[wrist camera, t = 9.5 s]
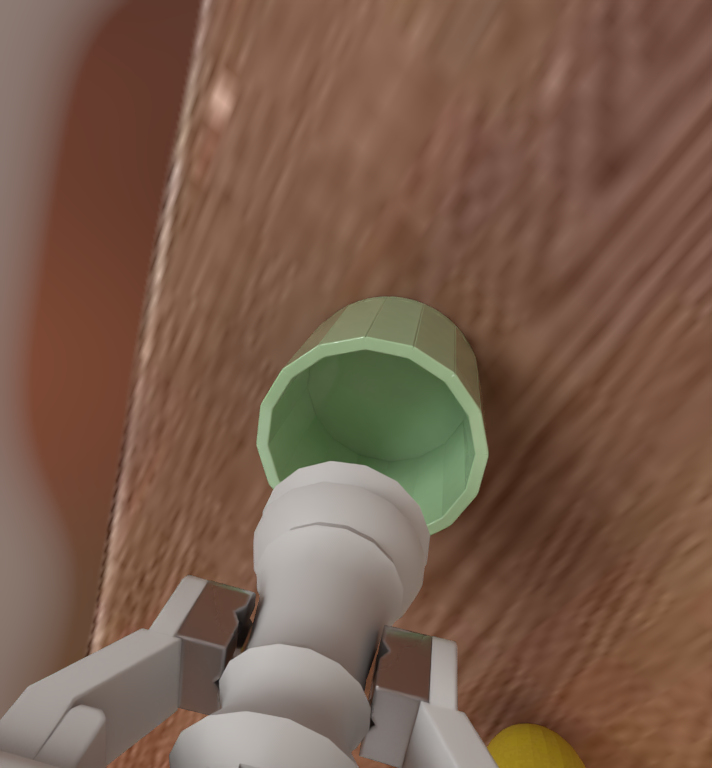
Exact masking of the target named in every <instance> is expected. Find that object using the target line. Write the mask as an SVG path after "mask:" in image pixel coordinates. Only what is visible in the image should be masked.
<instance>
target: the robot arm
mask: <svg viewBox="0 0 712 768" xmlns="http://www.w3.org/2000/svg"><path fill="white" fill-rule="evenodd" d="M255 597H256V594H255V593H254V592H251V591H247V590H244V589H240V588H236V587H233V586H229V585H226V584H222V583H218V582H215V581H209V580H205V579H202V578H198V577H195V576H191V575H187V576H186V577H185V578H183V579H182V581H181V582H180V584H179V585H178V587H177V588H176V590H175V591H174V593H173V594H172V596H171V597H170V599H169V600H168V602H167V603H166V605H165V606H164V608H163V609H162V611H161V612H160V614H159V615H158V617H157V618H156V620H155V621H154V623H153V624H152V626H151V627H150V629H149V630H146V629H140V630H138V631H136V632H134V633H132V634H130V635H128V636H126V637H124V638H122V639H120V640H118V641H116V642H114V643H113V644H111V645H109V646H107V647H105V648H103V649H101V650H99V651H97V652H95V653H93V654H91V655H89V656H87V657H85V658H83V659H81V660H79V661H77V662H75V663H74V664H71V665H69V666H68V667H66V668H64V669H62V670H60V671H58V672H56V673H54V674H52V675H50V676H48V677H46V678H44V679H42V680H40V681H38V682H36V683H34V684H32V685H31V686H28V687H27V689H26V690H25V691H24V692H23V693H22V695H21V696H20V697H19V698H18V699H17V701H16V702H15V703H14V704H13V705H12V707H11V708H10V709H9V710H8V711H7V713H6V714H5V715H4V716H3V718H2V719H1V720H0V768H106V766H107V765H108V764H110V763H111V762H112V761H113V760H115V759H116V758H117V757H118V756H120V755H121V754H122V753H124V752H125V751H126V750H127V749H129V748H130V747H131V746H133V745H134V744H135V743H136V742H138V741H139V740H140V739H141V738H143V737H144V736H145V735H147V734H148V733H149V732H150V731H152V730H153V729H154V728H155V727H157V726H158V725H159V724H161V723H162V722H163V721H164V720H166V719H167V718H168V717H169V716H171V715H172V714H173V713H175V712H176V711H177V708H182V709H186V710H190V711H194V712H198V713H203V714H207V715H211V714H213V713H215V712H216V711H218V710H220V709H221V708H222V706H221V704H220V689H219V680H220V678H221V676H222V674H223V672H224V670H225V669H226V667H227V665H228V663H229V661H231V660H232V659H234V658H235V657H237V656H238V655H240V654H242V653H243V652H244V650H245V648H246V646H247V643H248V641H249V638H250V634H251V630H252V625H253V623H252V621H251V620H250V616H251V614H252V612H253V610H254V607H255ZM368 702H369V705H370V707H371V714H370V726H369V731H368V733H367V734H366V736H365V737H364V738H363V740H362V741H361V747H360V753H359V756H362V757H365V758H368V759H371V760H375V761H378V762H381V763H385V764H388V765H391V766H394V767H398V768H499V767H498V765H497V763H496V762H495V760H494V759H493V757H492V755H491V754H490V752H489V751H488V749H487V747H486V746H485V744H484V743H483V741H482V739H481V738H480V736H479V735H478V733H477V731H476V730H475V728H474V727H473V725H472V723H471V722H470V720H469V719H468V717H467V715H466V714H465V713H464V712H460V711H458V689H457V644H456V642H455V641H451V640H447V639H442V638H438V637H434V636H432V637H431V636H429V635H425V634H421V633H417V632H412V631H408V630H404V629H400V628H396V627H392V626H387V625H384V628H383V632H382V636H381V640H380V646H379V652H378V655H377V657H376V662H375V667H374V671H373V676H372V680H371V686H370V692H369V697H368Z"/></svg>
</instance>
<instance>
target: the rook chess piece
mask: <svg viewBox="0 0 712 768" xmlns="http://www.w3.org/2000/svg"><path fill="white" fill-rule="evenodd" d="M429 540H430V533H429V530H428V528H427V525H426V522H425V519H424V516H423V514H422V511H421V508H420V506H419V505H418V504H417V502H416V501H415V500H414V499H413V498H412V497H411V496H410V495H409V494H408V493H407V492H406V491H405V489H404V488H403V487H402V486H401V485H400V484H399V483H398V482H397V481H395V480H393V479H391V478H389V477H388V476H386V475H384V474H382V473H380V472H378V471H376V470H374V469H372V468H370V467H368V466H366V465H359V464H351V463H343V462H335V461H328V462H324V463H320V464H316V465H312V466H308V467H304V468H300V469H298V470H296V471H295V472H294V473H292V474H291V475H290V476H288V477H287V478H286V479H285V480H283V481H282V482H281V483H279V484H278V485H277V486H275V488H274V490H273V492H272V494H271V496H270V498H269V500H268V502H267V504H266V506H265V508H264V510H263V516H262V518H261V520H260V522H259V524H258V526H257V528H256V530H255V533H254V571H255V573H256V575H257V590H258V592H259V595H260V599H259V602H258V606H257V610H256V614H255V618H254V622H253V626H252V630H251V634H250V638H249V641H248V643H247V646H246V648H245V650H244V652H243V653H242V654H240V655H238V656H237V657H235V658H234V659H232V660H231V661H229V663H228V665H227V667H226V669H225V670H224V672H223V674H222V676H221V678H220V680H219V689H220V704H221V706H222V708H221V709H220V710H218V711H216V712H215V713H213V714H211V715H209V716H207V717H205V718H204V719H202V720H200V721H199V722H197V723H195V724H193V725H192V726H190V727H188V728H187V729H185V730H183V731H182V732H181V733H180V735H179V737H178V739H177V741H176V743H175V745H174V747H173V749H172V751H171V752H170V754H169V761H170V768H359V767H358V765H357V763H356V761H355V759H354V758H353V756H352V754H351V752H352V751H353V750H354V749H356V748H357V746H358V745H359V744H360V742H361V741H362V740H363V738H364V737H365V736H366V734H367V733H368V731H369V726H370V714H371V707H370V705H369V702H368V700H367V698H366V696H365V693H364V690H365V684H366V679H367V676H368V673H369V670H370V667H371V665H372V662H373V659H374V656H375V653H376V650H377V647H378V644H379V642H380V639H381V636H382V632H383V628H384V625H387V626H392V625H393V624H394V622H395V621H396V620H398V619H400V618H401V617H402V616H403V615H404V613H405V612H406V610H407V609H408V607H409V606H410V604H411V603H412V602H413V600H414V599H415V597H416V596H417V594H418V592H419V590H420V589H421V587H422V584H423V575H424V567H425V565H426V564H427V557H428V549H429Z"/></svg>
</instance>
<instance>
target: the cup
mask: <svg viewBox="0 0 712 768" xmlns="http://www.w3.org/2000/svg"><path fill="white" fill-rule="evenodd" d="M256 444H257V448H258V452H259V455H260V458H261V461H262V464H263V468H264V471H265V474H266V477H267V480H268V483H269V485H270V486H271V487H272V488H273V490H274V488H275V486H277V485H278V484H279V483H281V482H282V481H283V480H285V479H286V478H287V477H288V476H290V475H291V474H292V473H294V472H295V471H296V470H298V469H300V468H304V467H308V466H312V465H316V464H320V463H324V462H328V461H335V462H343V463H351V464H359V465H366V466H368V467H370V468H372V469H374V470H376V471H378V472H380V473H382V474H384V475H386V476H388V477H389V478H391V479H393V480H395V481H397V482H398V483H399V484H400V485H401V486H402V487H403V488H404V489H405V491H406V492H407V493H408V494H409V495H410V496H411V497H412V498H413V499H414V500H415V501H416V502H417V504H418V505H419V506H420V508H421V511H422V514H423V516H424V519H425V522H426V525H427V528H428V530H429V533H430V536H431V535H433V534H435V533H437V532H439V531H441V530H443V529H445V528H447V527H449V526H450V525H452V524H453V522H454V521H455V520H456V519H457V518H458V517H459V516H460V514H461V513H462V512H463V511H464V510H465V509H466V508H467V506H468V505H469V504H470V503H471V502H472V501H473V499H474V498H475V497H476V496H477V494H478V492H479V489H480V485H481V482H482V478H483V475H484V471H485V467H486V464H487V460H488V457H489V450H488V441H487V433H486V424H485V415H484V407H483V398H482V390H481V384H480V378H479V371H478V366H477V360H476V357H475V355H474V353H473V351H472V348H471V346H470V345H469V343H468V341H467V339H466V338H465V336H464V335H463V334H462V332H461V331H460V330H459V328H458V327H457V326H456V325H455V324H454V323H453V322H452V321H451V320H450V319H448V318H447V317H446V316H444V315H443V314H442V313H440V312H439V311H437V310H435V309H434V308H432V307H430V306H428V305H425V304H423V303H421V302H418V301H414V300H411V299H407V298H400V297H375V298H368V299H365V300H361V301H357V302H355V303H353V304H350V305H348V306H346V307H344V308H343V309H341V310H339V311H337V312H336V313H335V314H334V315H332V316H331V317H330V318H329V319H328V320H326V321H325V322H323V323H322V324H321V325H320V326H319V327H318V328H317V329H316V330H315V332H314V333H313V334H312V335H311V336H310V337H309V339H308V340H307V341H306V342H305V343H304V344H303V346H302V347H301V348H300V349H299V350H298V351H297V353H296V354H295V355H294V356H293V357H292V358H291V360H290V361H289V362H288V363H287V364H286V365H285V367H284V368H283V369H282V370H281V372H280V373H279V375H278V377H277V378H276V380H275V382H274V383H273V385H272V386H271V388H270V390H269V391H268V393H267V395H266V396H265V398H264V400H263V401H262V403H261V406H260V414H259V424H258V433H257V442H256Z"/></svg>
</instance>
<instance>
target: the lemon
mask: <svg viewBox="0 0 712 768" xmlns="http://www.w3.org/2000/svg"><path fill="white" fill-rule="evenodd" d="M487 749H488V751H489V752H490V754H491V755H492V757H493V759H494V760H495V762H496V763H497V765H498V767H499V768H586V767H585V766H584V764H583V762H582V760H581V759H580V757H579V756H578V754H577V753H576V752H575V750H574V749H573V747H572V746H571V745H570V744H569V743H568V742H567V741H566V740H564V739H563V738H562V737H561V736H560V735H558V734H557V733H555V732H554V731H552V730H550V729H548V728H546V727H544V726H540V725H537V724H530V723H524V724H516V725H512V726H510V727H508V728H506V729H504V730H502V731H501V732H499V733H498V734H497V735H496V736H495V737H494V738H493V739H492V740H491V742H490V743H489V745H488V747H487Z"/></svg>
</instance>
